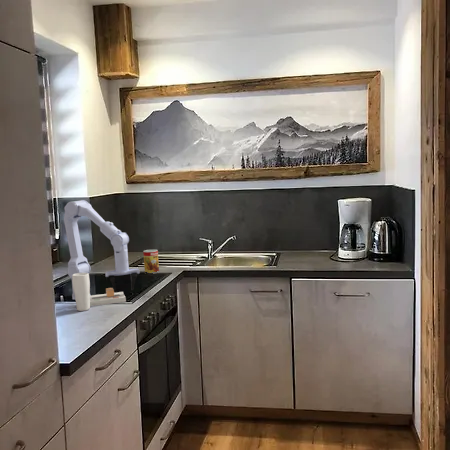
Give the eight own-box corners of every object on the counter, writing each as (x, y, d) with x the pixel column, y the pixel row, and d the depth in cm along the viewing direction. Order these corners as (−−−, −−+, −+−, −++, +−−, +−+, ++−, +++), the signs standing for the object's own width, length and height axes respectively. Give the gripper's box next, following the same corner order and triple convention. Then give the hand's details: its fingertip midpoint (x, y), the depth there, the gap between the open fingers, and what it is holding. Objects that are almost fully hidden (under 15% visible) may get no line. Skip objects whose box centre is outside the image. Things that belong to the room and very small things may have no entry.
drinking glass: (93, 307, 226) (90, 272, 224) (89, 311, 219) (86, 275, 218) (77, 308, 226) (74, 273, 224) (73, 312, 219) (70, 276, 218)
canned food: (156, 273, 291) (155, 251, 290) (142, 273, 293) (141, 252, 291) (161, 270, 299) (159, 249, 297) (147, 270, 300) (146, 249, 299)
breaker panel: (86, 300, 238) (86, 295, 238) (123, 296, 243) (122, 291, 243) (87, 306, 228) (87, 301, 228) (125, 301, 232) (125, 296, 232)
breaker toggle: (106, 294, 238) (105, 288, 237) (113, 293, 239) (112, 287, 238) (107, 296, 233) (106, 291, 233) (114, 296, 234) (113, 290, 233)
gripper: (105, 263, 230) (107, 294, 231) (139, 260, 234) (141, 290, 236) (104, 261, 237) (106, 291, 238) (137, 257, 241) (139, 287, 242)
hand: (123, 290), depth 237 cm, fingers open, 7 cm apart
